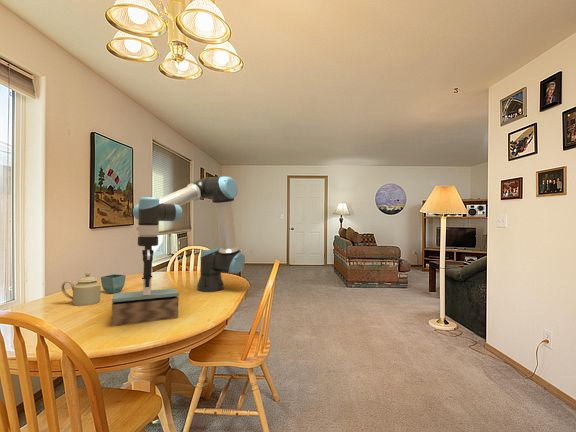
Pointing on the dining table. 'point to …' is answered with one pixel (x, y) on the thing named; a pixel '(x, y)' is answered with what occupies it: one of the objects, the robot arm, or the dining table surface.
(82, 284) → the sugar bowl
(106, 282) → the flower pot
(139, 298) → the lid
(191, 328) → the dining table surface
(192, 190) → the robot arm
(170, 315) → the walnut box
